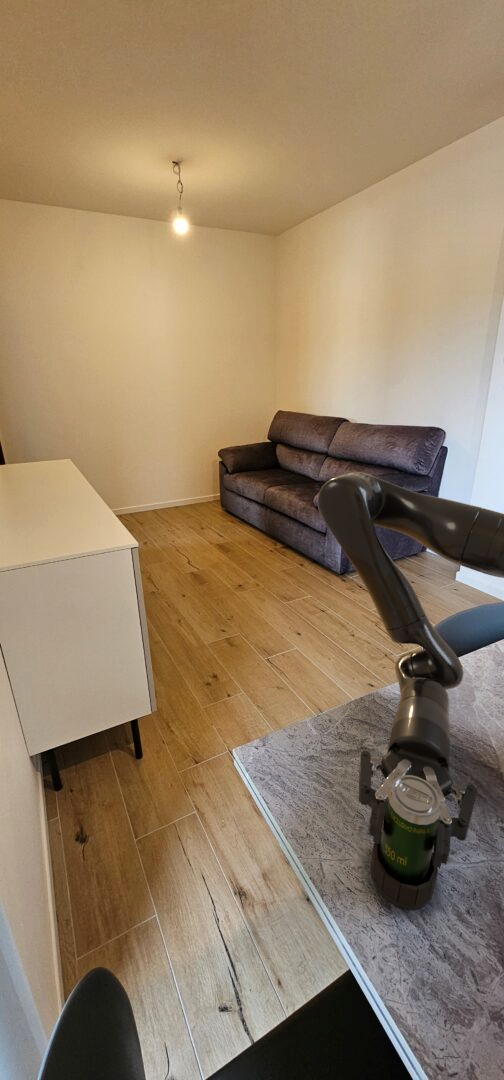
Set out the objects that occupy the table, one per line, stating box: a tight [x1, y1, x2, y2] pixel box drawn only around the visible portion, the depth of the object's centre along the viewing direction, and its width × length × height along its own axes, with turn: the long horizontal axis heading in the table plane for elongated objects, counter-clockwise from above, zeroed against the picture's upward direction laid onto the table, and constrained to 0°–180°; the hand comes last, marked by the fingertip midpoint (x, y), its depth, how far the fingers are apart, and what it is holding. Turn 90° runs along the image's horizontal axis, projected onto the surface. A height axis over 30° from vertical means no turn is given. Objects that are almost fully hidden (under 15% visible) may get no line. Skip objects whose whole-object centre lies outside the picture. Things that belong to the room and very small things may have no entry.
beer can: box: [378, 775, 441, 886], centre depth 50 cm, size 5×5×12 cm
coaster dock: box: [370, 833, 439, 911], centre depth 52 cm, size 7×7×3 cm
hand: (406, 848), depth 47 cm, fingers open, 5 cm apart
